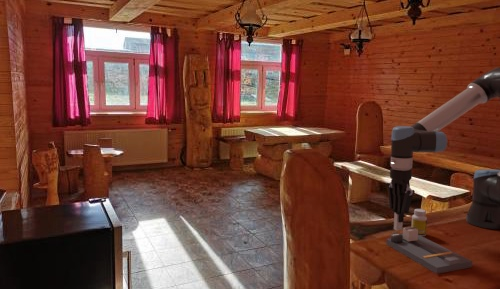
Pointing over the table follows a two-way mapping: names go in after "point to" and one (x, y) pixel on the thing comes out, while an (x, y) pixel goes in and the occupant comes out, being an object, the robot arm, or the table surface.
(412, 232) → the fader knob
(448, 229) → the table surface
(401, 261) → the table surface
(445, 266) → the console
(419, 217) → the supplement bottle
